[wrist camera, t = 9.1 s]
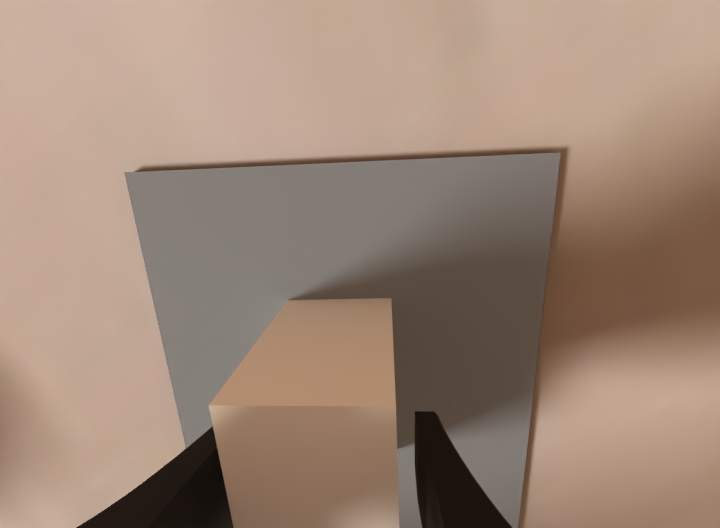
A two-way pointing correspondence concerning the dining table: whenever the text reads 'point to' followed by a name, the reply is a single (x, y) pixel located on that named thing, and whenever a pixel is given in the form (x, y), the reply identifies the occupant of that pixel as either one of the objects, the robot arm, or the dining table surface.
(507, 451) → the slate mat
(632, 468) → the dining table surface
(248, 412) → the cream block
